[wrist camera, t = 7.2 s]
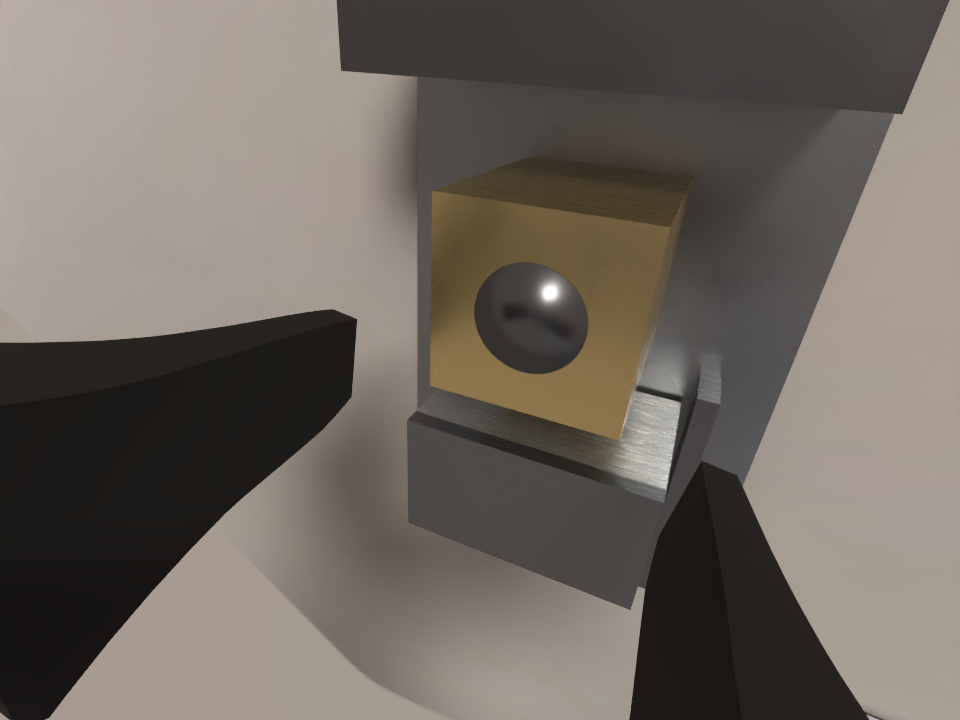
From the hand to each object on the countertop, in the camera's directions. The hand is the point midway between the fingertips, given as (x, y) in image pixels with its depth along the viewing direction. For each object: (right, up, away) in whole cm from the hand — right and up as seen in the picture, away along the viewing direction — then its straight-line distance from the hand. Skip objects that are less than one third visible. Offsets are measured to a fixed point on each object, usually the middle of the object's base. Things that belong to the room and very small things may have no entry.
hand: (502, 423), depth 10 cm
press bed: (+3, +4, +7) cm, 8 cm away
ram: (+2, -1, +8) cm, 8 cm away
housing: (+3, +5, +5) cm, 8 cm away
